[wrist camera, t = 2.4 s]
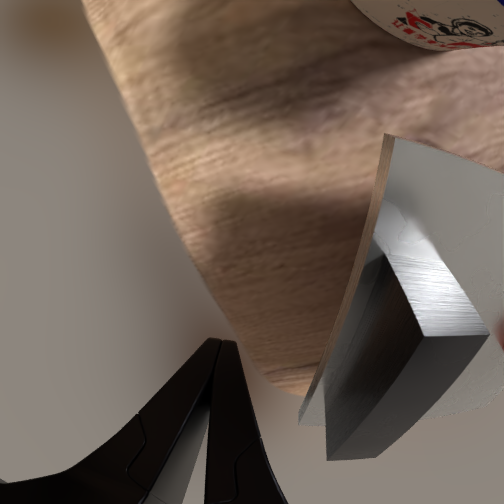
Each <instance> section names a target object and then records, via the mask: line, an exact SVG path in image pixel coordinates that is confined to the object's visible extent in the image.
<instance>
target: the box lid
mask: <svg viewBox="0 0 504 504" xmlns="http://www.w3.org/2000/svg"><path fill="white" fill-rule="evenodd" d="M503 388H504V173H503V172H500V171H498V170H496V169H493V168H491V167H489V166H486V165H484V164H481V163H479V162H476V161H474V160H471V159H468V158H466V157H463V156H460V155H457V154H454V153H451V152H449V151H446V150H443V149H439V148H436V147H433V146H430V145H427V144H423V143H420V142H417V141H413V140H409V139H406V138H402V137H398V136H394V135H390V134H386V133H384V137H383V143H382V149H381V154H380V159H379V165H378V170H377V174H376V179H375V184H374V188H373V193H372V197H371V202H370V206H369V210H368V214H367V218H366V222H365V226H364V230H363V233H362V237H361V241H360V244H359V248H358V252H357V255H356V259H355V262H354V265H353V269H352V272H351V275H350V279H349V282H348V285H347V288H346V291H345V294H344V297H343V300H342V303H341V306H340V309H339V312H338V315H337V318H336V321H335V323H334V326H333V329H332V332H331V335H330V337H329V340H328V343H327V345H326V348H325V350H324V353H323V356H322V358H321V361H320V363H319V366H318V368H317V371H316V373H315V375H314V378H313V380H312V383H311V385H310V387H309V390H308V392H307V394H306V397H305V399H304V401H303V404H302V406H301V408H300V410H299V415H298V425H307V426H308V425H309V426H326V453H327V461H333V460H353V459H365V458H375V457H377V456H378V455H379V454H381V453H382V452H383V451H384V450H386V449H387V448H388V447H389V446H390V445H392V444H393V443H394V442H395V441H396V440H397V439H399V438H400V437H401V436H402V435H403V434H404V433H405V432H406V431H408V430H409V429H410V428H411V427H412V426H413V425H414V424H415V423H416V422H417V421H418V420H421V419H428V418H434V417H440V416H445V415H451V414H456V413H460V412H465V411H469V410H473V409H478V408H482V407H485V406H487V405H488V404H489V403H490V402H491V401H492V400H493V399H494V398H495V397H496V396H497V395H498V394H499V393H500V392H501V390H503Z"/></svg>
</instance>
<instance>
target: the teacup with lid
mask: <svg viewBox="0 0 504 504" xmlns="http://www.w3.org/2000/svg"><path fill="white" fill-rule="evenodd" d="M351 1H352V3H353V4H354V5H355V6H356V7H357V8H358V9H359V10H360V11H361V12H362V13H363V14H364V15H366V16H367V17H368V18H369V19H370V20H371V21H373V22H374V23H375V24H377V25H378V26H379V27H381V28H382V29H384V30H385V31H387V32H389V33H390V34H392V35H394V36H395V37H397V38H399V39H401V40H403V41H406V42H408V43H410V44H413V45H415V46H418V47H422V48H425V49H430V50H437V51H452V50H460V49H468V48H477V47H489V46H504V0H351Z"/></svg>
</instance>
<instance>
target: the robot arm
mask: <svg viewBox="0 0 504 504" xmlns="http://www.w3.org/2000/svg"><path fill="white" fill-rule="evenodd" d="M138 413H139V414H136V415H135V416H134V417H133V418H132V419H131V420H130V421H129V422H128V423H127V424H126V425H125V426H124V427H123V428H122V429H121V430H120V431H119V432H117V433H116V434H115V435H114V436H113V437H112V438H110V439H109V440H108V441H107V442H106V443H104V444H103V445H101V446H100V447H99V448H97V449H96V450H95V451H93V452H92V453H91V454H90V455H88V456H87V457H86V458H84V459H83V460H81V461H80V462H79V463H77V464H76V465H74V466H73V467H71V468H69V469H67V470H65V471H63V472H60V473H57V474H53V475H48V476H44V477H39V478H34V479H29V480H24V481H18V482H12V483H7V482H5V481H3V480H2V479H0V504H182V502H183V499H184V496H185V493H186V490H187V487H188V484H189V481H190V478H191V475H192V472H193V469H194V466H195V463H196V459H197V456H198V453H199V450H200V447H201V444H202V441H203V438H204V435H205V432H206V429H207V425H208V422H209V428H208V443H207V459H206V475H205V495H204V504H288V502H287V500H286V498H285V496H284V494H283V492H282V490H281V488H280V486H279V484H278V482H277V480H276V478H275V475H274V473H273V471H272V469H271V466H270V463H269V461H268V458H267V455H266V452H265V449H264V445H263V441H262V438H260V437H261V435H260V431H259V428H258V424H257V420H256V417H255V413H254V410H253V406H252V402H251V398H250V394H249V391H248V387H247V383H246V379H245V376H244V372H243V368H242V363H241V359H240V355H239V351H238V348H237V343H236V342H235V341H231V340H223V341H222V340H221V339H217V338H208V339H207V340H206V341H205V342H204V343H203V344H202V345H201V346H200V347H199V348H198V349H197V350H196V352H195V353H194V354H193V355H192V356H191V357H190V358H189V359H188V360H187V361H186V362H185V364H183V366H182V367H181V368H180V369H179V370H178V371H177V372H176V373H175V374H174V375H173V376H172V377H171V378H170V379H169V380H168V382H167V383H166V384H165V385H164V386H163V387H162V388H161V389H160V390H159V391H158V392H157V393H156V394H155V395H154V396H153V397H152V398H151V399H150V400H149V402H147V404H146V405H145V406H144V407H143V408H142V409H141V410H140V411H139V412H138Z"/></svg>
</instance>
